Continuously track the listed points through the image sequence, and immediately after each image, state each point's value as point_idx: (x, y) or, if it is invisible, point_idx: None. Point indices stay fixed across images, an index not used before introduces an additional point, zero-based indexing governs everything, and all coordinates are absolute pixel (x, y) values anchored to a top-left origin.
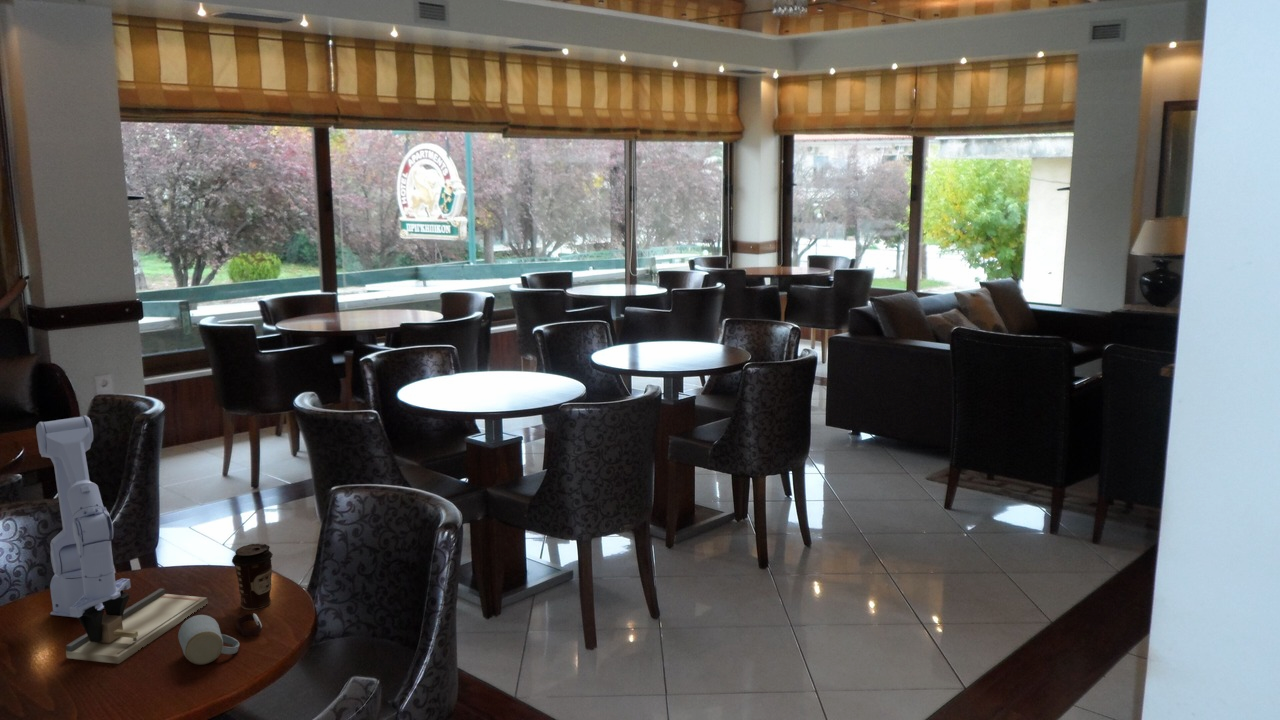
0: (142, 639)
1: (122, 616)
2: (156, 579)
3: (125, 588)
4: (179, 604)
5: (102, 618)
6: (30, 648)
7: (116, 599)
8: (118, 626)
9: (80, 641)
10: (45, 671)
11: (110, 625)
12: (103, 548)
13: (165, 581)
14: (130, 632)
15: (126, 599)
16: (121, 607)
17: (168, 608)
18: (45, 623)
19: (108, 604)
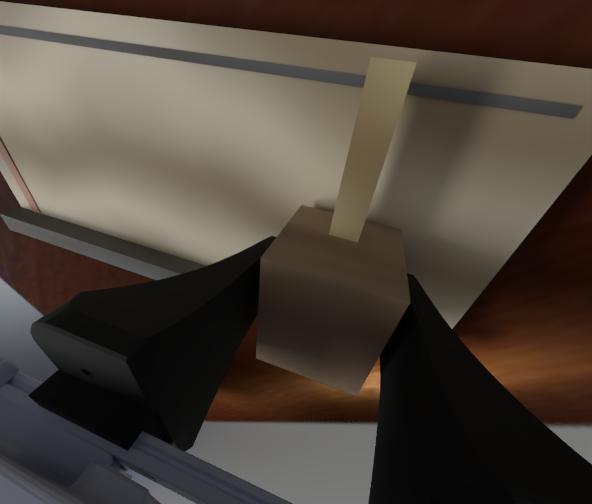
0: (347, 54)
1: (232, 256)
2: (21, 266)
3: (3, 375)
4: (13, 103)
5: (306, 343)
6: (345, 401)
7: (164, 385)
8: (313, 237)
9: None
10: (530, 366)
11: (379, 278)
12: None
13: (10, 245)
14: (387, 115)
15: (114, 306)
16: (204, 295)
17: (57, 133)
18: (235, 389)
19: (209, 377)
